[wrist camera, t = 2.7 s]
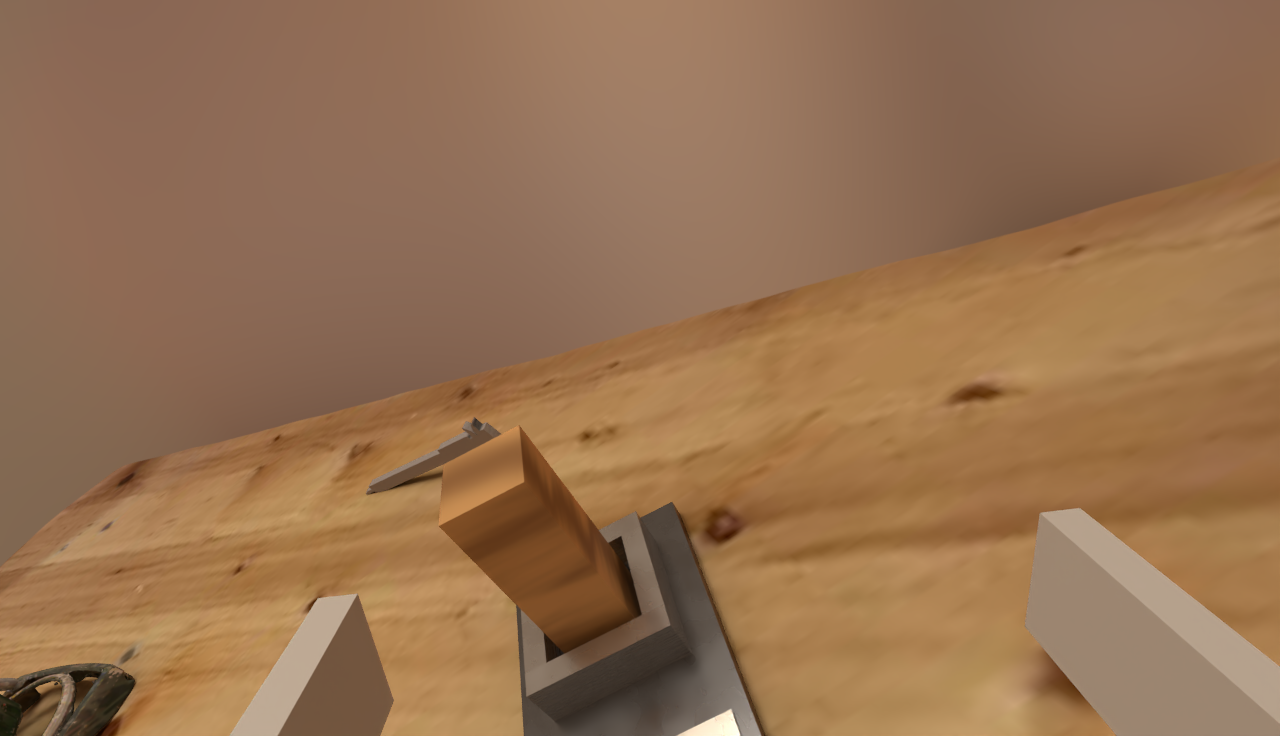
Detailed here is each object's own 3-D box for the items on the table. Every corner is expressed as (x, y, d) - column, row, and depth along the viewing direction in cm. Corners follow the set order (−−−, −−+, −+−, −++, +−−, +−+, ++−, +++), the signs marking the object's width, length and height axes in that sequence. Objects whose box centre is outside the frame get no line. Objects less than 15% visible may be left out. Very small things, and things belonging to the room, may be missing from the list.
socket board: (524, 591, 50) (491, 556, 47) (679, 513, 49) (654, 473, 46) (569, 1196, 25) (502, 1195, 22) (887, 1052, 24) (859, 1033, 21)
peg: (572, 608, 45) (443, 464, 36) (634, 577, 44) (519, 425, 36) (582, 671, 40) (438, 526, 32) (650, 638, 40) (524, 481, 32)
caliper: (518, 454, 65) (485, 413, 62) (515, 462, 64) (482, 420, 61) (372, 489, 72) (336, 454, 69) (368, 496, 71) (331, 461, 68)
